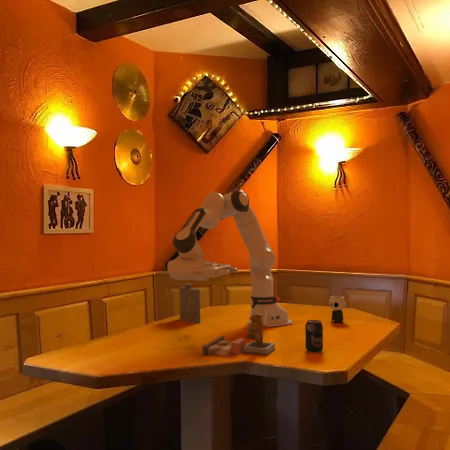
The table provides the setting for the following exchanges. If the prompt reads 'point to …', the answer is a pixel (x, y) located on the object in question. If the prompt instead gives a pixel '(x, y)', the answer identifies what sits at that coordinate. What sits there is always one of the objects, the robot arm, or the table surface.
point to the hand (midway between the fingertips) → (233, 271)
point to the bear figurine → (337, 307)
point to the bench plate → (221, 348)
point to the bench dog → (237, 346)
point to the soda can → (314, 336)
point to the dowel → (259, 330)
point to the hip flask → (189, 304)
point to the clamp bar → (205, 347)
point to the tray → (265, 350)
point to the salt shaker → (251, 328)
